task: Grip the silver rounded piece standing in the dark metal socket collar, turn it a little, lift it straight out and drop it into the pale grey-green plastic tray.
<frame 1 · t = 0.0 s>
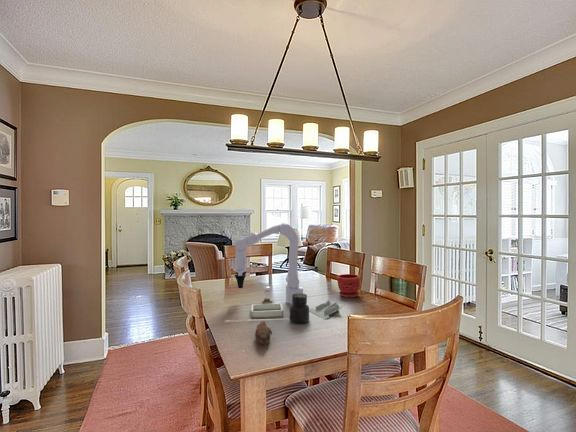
hand: (240, 286, 171), 10 cm above the table, tool pointing down, fingers open, 7 cm apart
socket base: (267, 306, 167), on the table
bird sculpture: (263, 340, 125), on the table
tray: (267, 314, 155), on the table
silver rounded piece: (267, 305, 167), point 1 cm above the table, touching socket base
ink bottle: (299, 321, 146), on the table
metal bracket: (326, 314, 157), on the table
plant pot: (348, 296, 189), on the table
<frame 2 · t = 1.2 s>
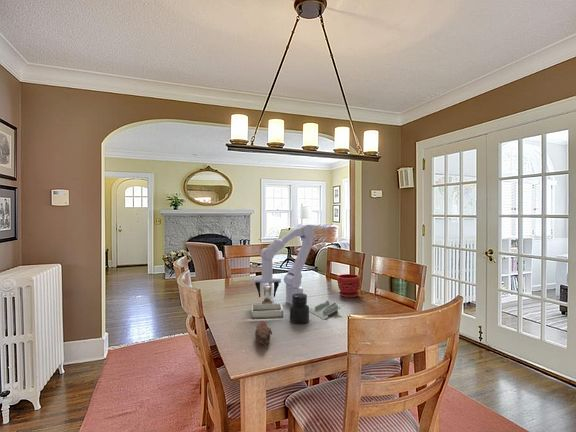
hand: (267, 296, 167), 6 cm above the table, tool pointing down, fingers open, 7 cm apart
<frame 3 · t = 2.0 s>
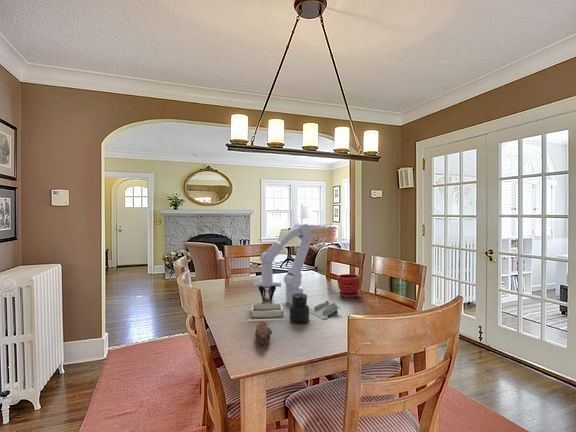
hand: (267, 300, 167), 3 cm above the table, tool pointing down, fingers closed on silver rounded piece, 4 cm apart
silver rounded piece: (267, 305, 168), point 1 cm above the table, touching gripper, socket base
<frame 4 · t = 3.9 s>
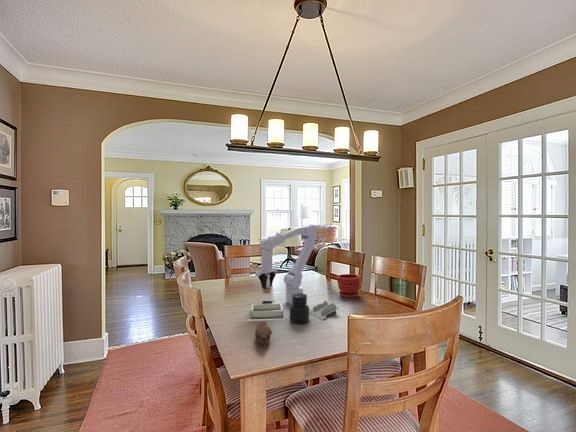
hand: (266, 287, 167), 10 cm above the table, tool pointing down, fingers closed on silver rounded piece, 4 cm apart
silver rounded piece: (266, 292, 167), point 8 cm above the table, touching gripper
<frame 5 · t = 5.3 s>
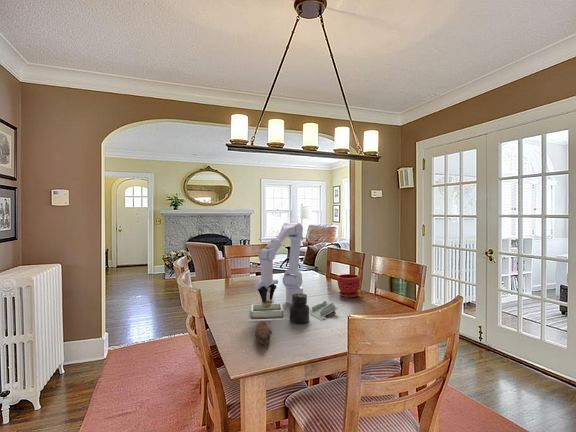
hand: (267, 300, 155), 7 cm above the table, tool pointing down, fingers closed on silver rounded piece, 4 cm apart
silver rounded piece: (266, 306, 156), point 4 cm above the table, touching gripper
when the fingers open (5 cm above the table, at t = 6.0 s): silver rounded piece drops 1 cm, resting on tray.
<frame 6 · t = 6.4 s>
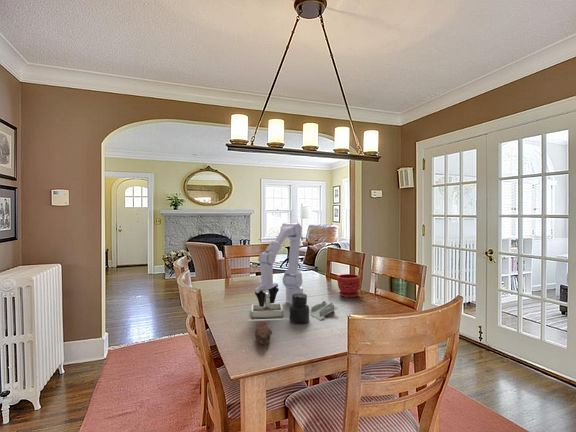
hand: (267, 304, 155), 5 cm above the table, tool pointing down, fingers open, 7 cm apart
silver rounded piece: (266, 312, 156), point 1 cm above the table, touching tray
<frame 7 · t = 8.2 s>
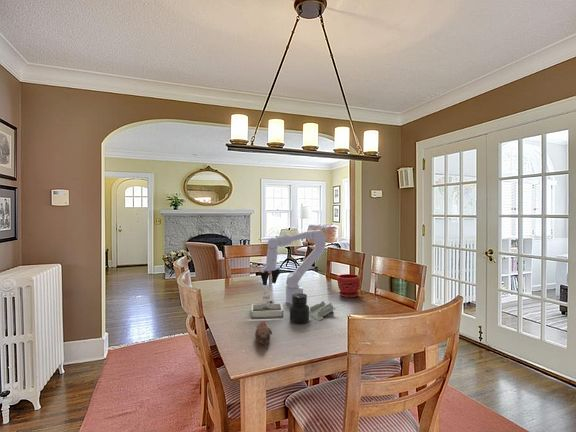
hand: (269, 284, 174), 10 cm above the table, tool pointing down, fingers open, 7 cm apart
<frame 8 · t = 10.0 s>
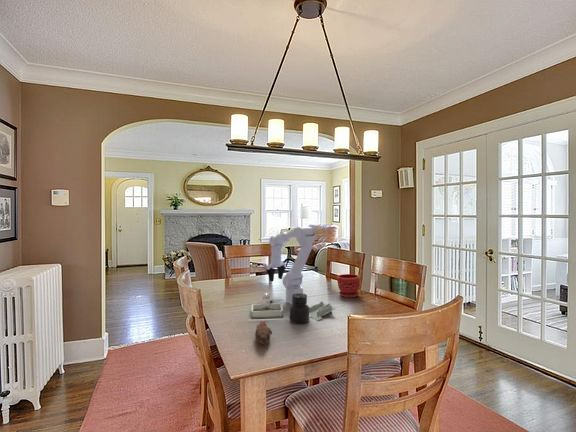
hand: (275, 279, 185), 10 cm above the table, tool pointing down, fingers open, 7 cm apart
at the end: silver rounded piece inside the target area on the tray (0.6 cm from its centre), point 0.6 cm above the tray's base; the gripper is holding nothing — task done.
